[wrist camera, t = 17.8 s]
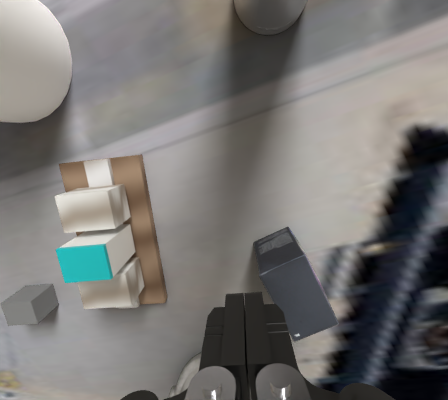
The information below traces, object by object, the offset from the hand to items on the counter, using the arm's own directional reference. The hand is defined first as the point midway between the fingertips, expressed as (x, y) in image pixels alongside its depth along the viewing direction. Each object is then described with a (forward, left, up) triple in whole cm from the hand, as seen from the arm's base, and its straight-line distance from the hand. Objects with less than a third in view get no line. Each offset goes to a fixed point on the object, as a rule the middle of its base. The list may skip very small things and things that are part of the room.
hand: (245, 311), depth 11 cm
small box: (+13, +6, -29) cm, 33 cm away
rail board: (+6, -20, -29) cm, 36 cm away
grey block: (+16, -36, -29) cm, 49 cm away
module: (+6, -20, -27) cm, 34 cm away
